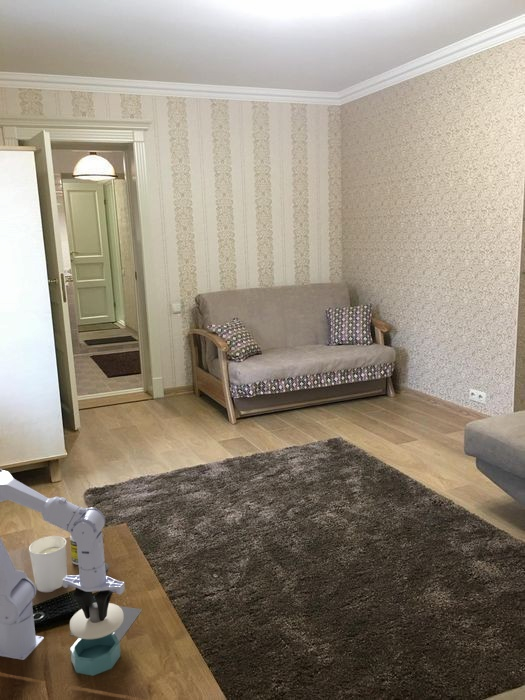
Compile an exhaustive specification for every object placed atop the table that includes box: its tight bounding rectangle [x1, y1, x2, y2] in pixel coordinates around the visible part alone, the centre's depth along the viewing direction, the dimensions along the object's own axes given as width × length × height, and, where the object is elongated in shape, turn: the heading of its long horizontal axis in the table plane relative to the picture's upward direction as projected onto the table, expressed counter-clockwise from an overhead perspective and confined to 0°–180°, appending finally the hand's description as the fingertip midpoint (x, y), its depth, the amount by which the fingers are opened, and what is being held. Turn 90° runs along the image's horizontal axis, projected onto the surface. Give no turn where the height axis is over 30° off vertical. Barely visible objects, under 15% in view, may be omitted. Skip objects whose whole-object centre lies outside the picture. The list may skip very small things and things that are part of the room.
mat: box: [69, 605, 143, 643], centre depth 149 cm, size 13×13×1 cm
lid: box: [69, 602, 124, 639], centre depth 138 cm, size 12×12×4 cm
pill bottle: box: [69, 534, 79, 566], centre depth 178 cm, size 6×6×11 cm
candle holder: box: [28, 535, 68, 593], centre depth 166 cm, size 10×10×12 cm
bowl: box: [69, 632, 121, 677], centre depth 136 cm, size 10×10×4 cm
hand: (96, 617), depth 138 cm, fingers closed on lid, 3 cm apart
